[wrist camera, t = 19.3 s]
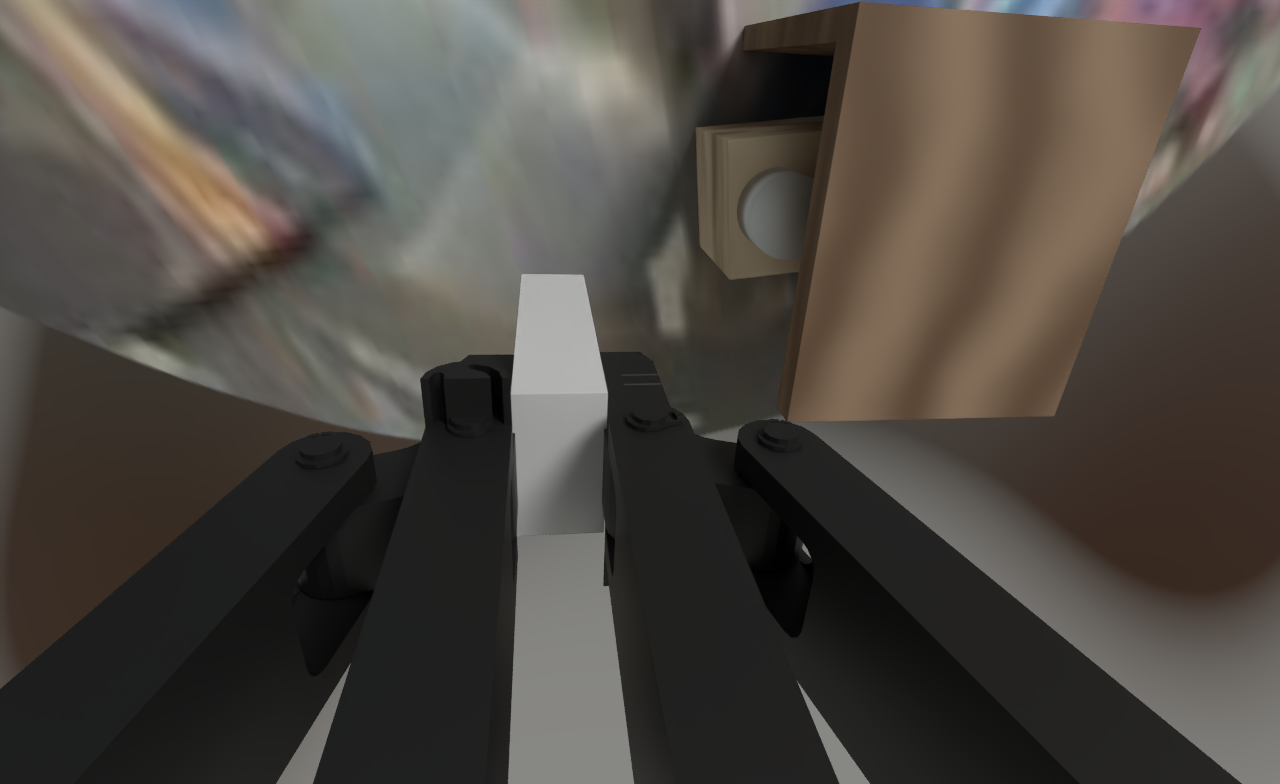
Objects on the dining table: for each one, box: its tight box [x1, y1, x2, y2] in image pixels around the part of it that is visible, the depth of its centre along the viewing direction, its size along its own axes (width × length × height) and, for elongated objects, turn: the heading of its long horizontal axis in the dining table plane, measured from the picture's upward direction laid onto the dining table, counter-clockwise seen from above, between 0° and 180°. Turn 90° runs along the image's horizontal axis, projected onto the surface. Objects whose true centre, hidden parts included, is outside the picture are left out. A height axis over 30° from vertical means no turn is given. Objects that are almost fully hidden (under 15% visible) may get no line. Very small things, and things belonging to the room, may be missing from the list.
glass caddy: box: [696, 116, 824, 280], centre depth 35 cm, size 10×7×10 cm
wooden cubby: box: [742, 2, 1201, 422], centre depth 34 cm, size 14×17×14 cm
